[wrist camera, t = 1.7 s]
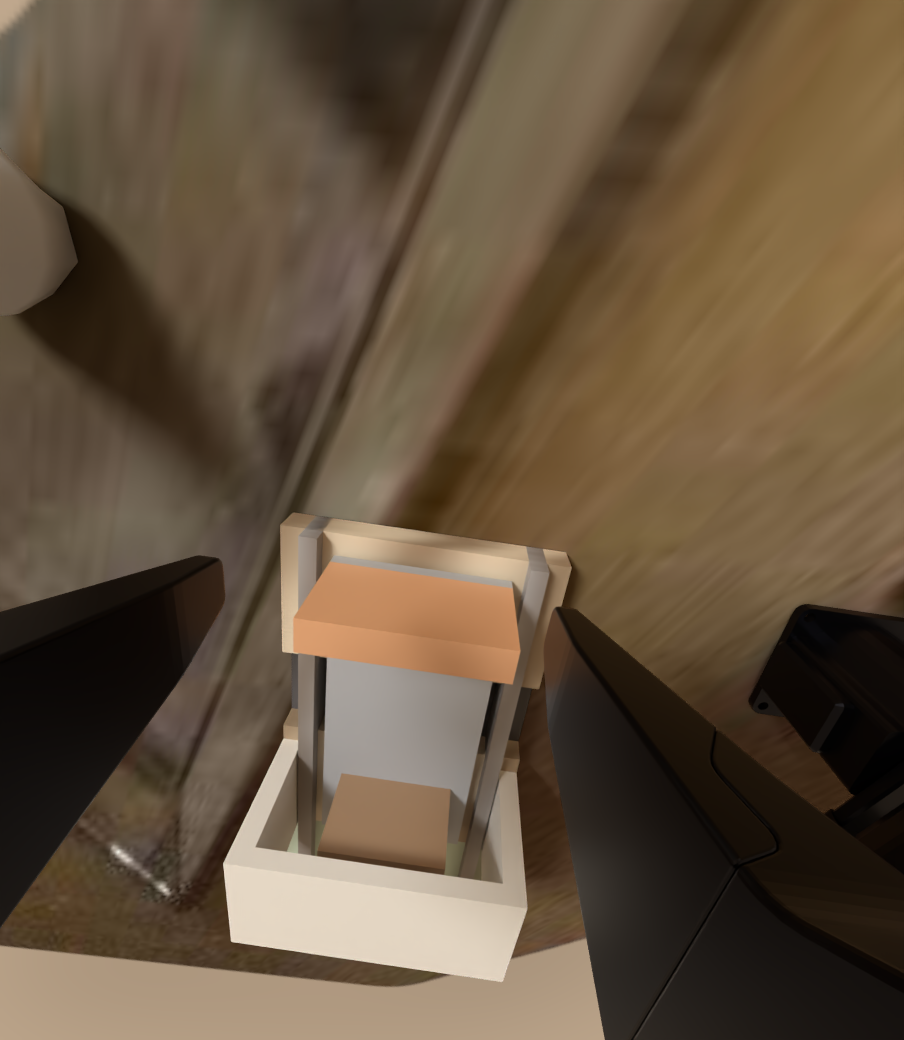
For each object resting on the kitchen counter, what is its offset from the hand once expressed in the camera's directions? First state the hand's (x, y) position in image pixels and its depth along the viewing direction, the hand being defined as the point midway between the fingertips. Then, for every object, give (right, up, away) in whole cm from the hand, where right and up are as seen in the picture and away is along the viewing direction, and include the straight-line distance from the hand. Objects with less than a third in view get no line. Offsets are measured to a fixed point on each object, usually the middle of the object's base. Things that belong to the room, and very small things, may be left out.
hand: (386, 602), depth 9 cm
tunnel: (-2, -14, +17) cm, 23 cm away
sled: (-1, -9, +15) cm, 17 cm away
